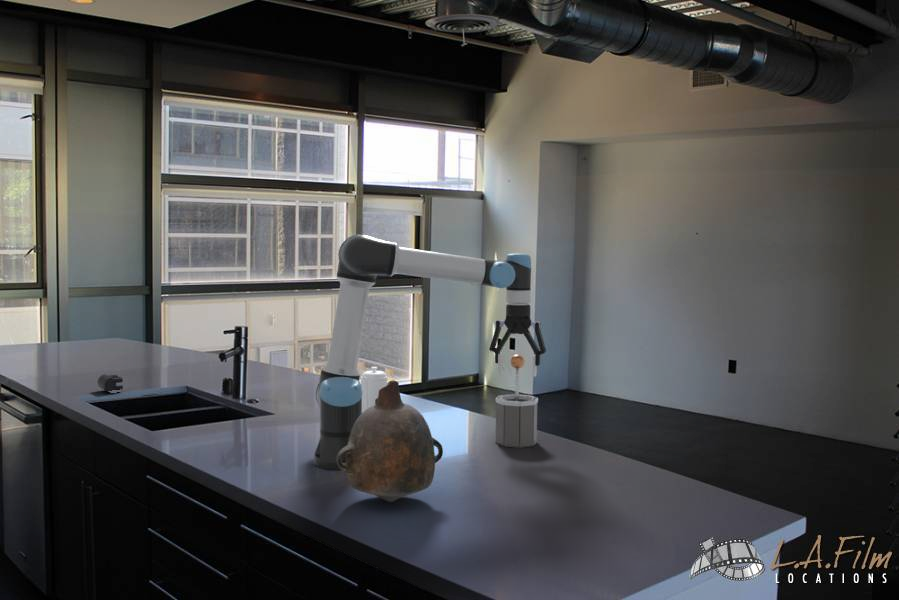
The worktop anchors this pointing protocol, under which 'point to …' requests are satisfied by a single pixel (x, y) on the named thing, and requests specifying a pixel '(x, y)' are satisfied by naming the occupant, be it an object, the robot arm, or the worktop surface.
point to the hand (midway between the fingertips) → (517, 375)
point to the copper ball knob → (517, 371)
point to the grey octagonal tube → (516, 420)
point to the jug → (390, 449)
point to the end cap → (110, 382)
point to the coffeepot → (372, 386)
